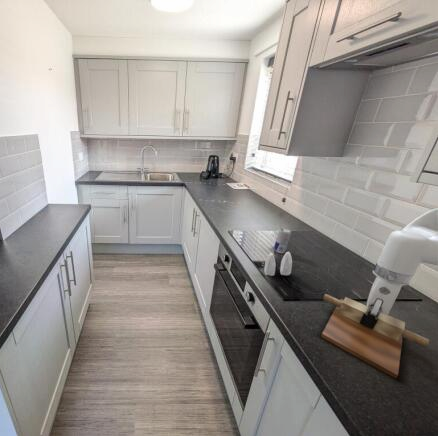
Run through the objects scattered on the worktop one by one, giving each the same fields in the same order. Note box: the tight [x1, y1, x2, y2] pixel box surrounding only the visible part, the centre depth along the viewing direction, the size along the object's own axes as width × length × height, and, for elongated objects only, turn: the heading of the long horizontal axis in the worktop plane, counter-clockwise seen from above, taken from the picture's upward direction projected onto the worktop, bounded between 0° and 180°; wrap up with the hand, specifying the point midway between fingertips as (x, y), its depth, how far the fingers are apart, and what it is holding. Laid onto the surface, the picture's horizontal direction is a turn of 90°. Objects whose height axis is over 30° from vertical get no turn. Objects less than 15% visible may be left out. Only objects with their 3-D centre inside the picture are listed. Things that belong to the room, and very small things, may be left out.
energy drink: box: [273, 227, 292, 254], centre depth 115 cm, size 5×5×12 cm
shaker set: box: [263, 251, 293, 277], centre depth 97 cm, size 12×4×11 cm, turn 89°
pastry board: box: [320, 298, 404, 379], centre depth 70 cm, size 24×16×2 cm, turn 131°
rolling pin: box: [322, 293, 430, 348], centre depth 72 cm, size 24×4×4 cm, turn 41°
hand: (367, 321), depth 72 cm, fingers closed on rolling pin, 4 cm apart
